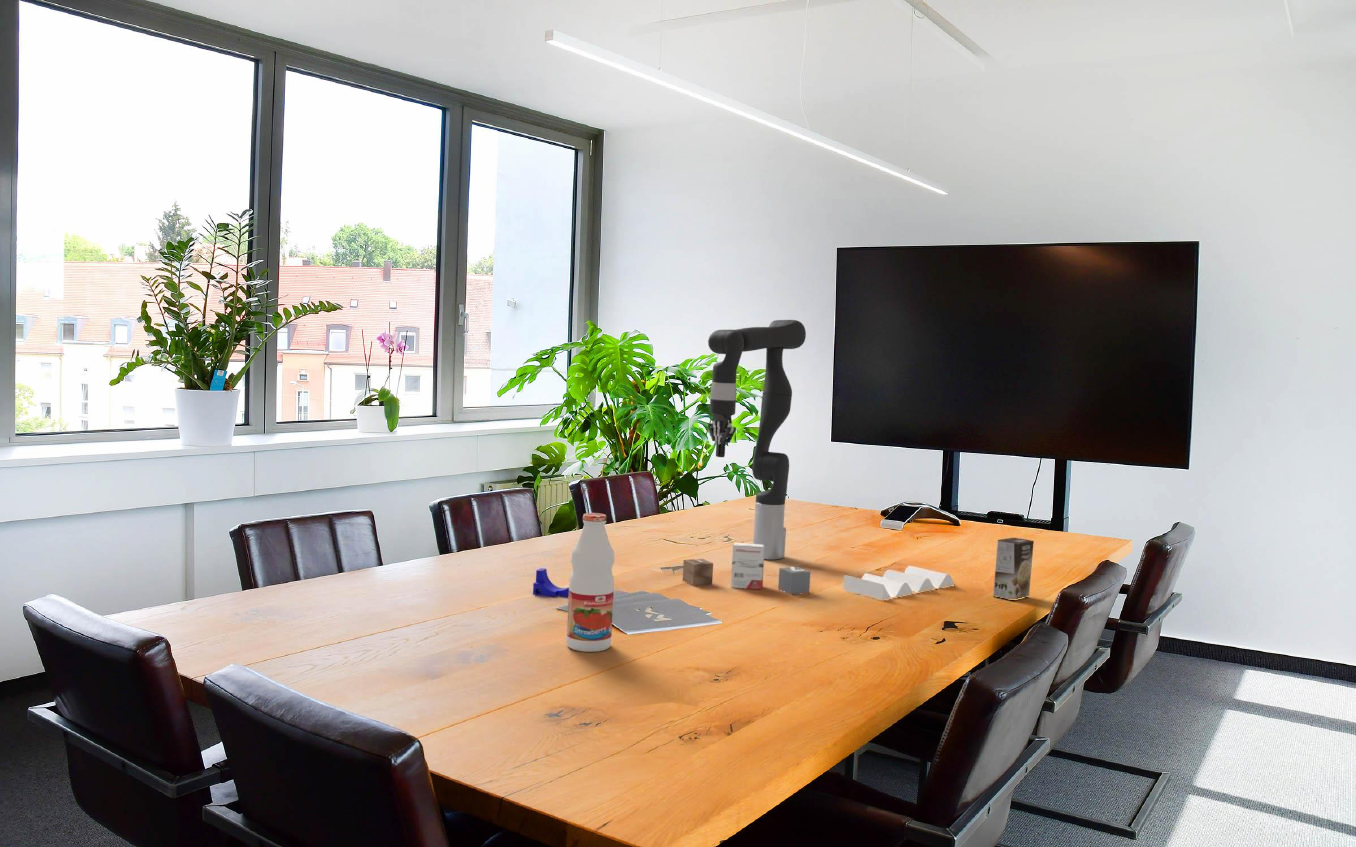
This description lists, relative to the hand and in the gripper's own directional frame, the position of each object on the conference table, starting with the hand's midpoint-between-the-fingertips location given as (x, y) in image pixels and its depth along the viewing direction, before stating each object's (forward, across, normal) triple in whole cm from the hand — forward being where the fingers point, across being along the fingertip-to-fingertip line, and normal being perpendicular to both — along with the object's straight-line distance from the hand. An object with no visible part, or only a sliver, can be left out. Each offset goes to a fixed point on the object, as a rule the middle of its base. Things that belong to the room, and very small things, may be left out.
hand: (720, 456), depth 291 cm
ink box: (+33, -25, +4) cm, 42 cm away
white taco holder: (+34, -39, -38) cm, 64 cm away
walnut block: (+33, -17, +15) cm, 40 cm away
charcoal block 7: (+33, -33, -6) cm, 47 cm away
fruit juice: (+32, -62, +66) cm, 96 cm away
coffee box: (+33, -56, -63) cm, 90 cm away
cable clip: (+33, -19, +57) cm, 68 cm away
